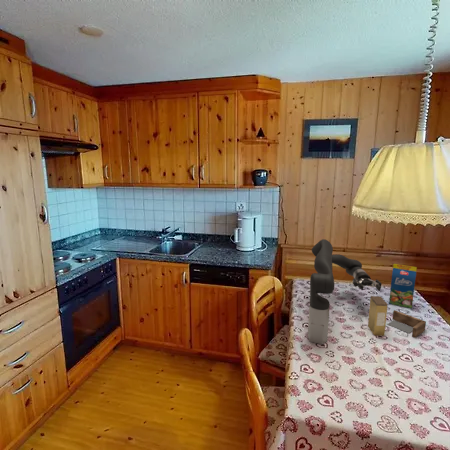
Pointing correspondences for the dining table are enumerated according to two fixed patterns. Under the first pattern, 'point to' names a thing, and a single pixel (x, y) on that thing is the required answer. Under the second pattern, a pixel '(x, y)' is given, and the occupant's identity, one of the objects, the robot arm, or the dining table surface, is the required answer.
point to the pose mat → (401, 326)
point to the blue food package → (402, 285)
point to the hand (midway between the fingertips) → (371, 288)
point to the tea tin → (377, 315)
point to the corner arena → (410, 322)
